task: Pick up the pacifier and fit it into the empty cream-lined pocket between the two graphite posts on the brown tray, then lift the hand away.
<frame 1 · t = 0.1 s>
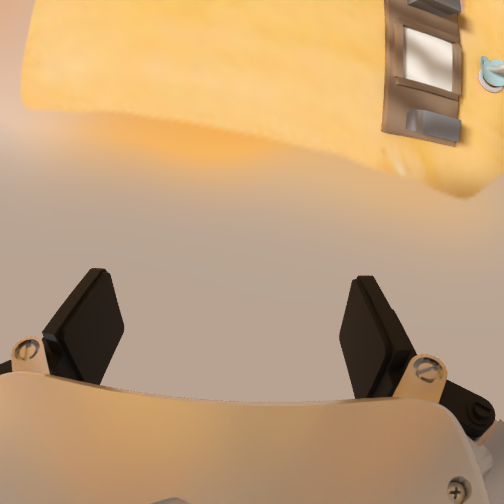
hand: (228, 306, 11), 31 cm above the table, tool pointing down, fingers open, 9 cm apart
brown tray: (422, 60, 31), on the table
pacifier: (488, 74, 30), on the table
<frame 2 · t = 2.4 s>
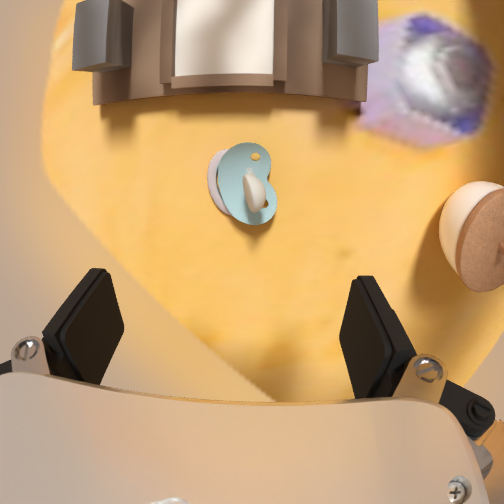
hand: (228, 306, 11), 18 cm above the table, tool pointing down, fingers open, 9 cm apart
lidded jar: (460, 213, 28), on the table
brown tray: (226, 30, 21), on the table
pacifier: (240, 179, 28), on the table
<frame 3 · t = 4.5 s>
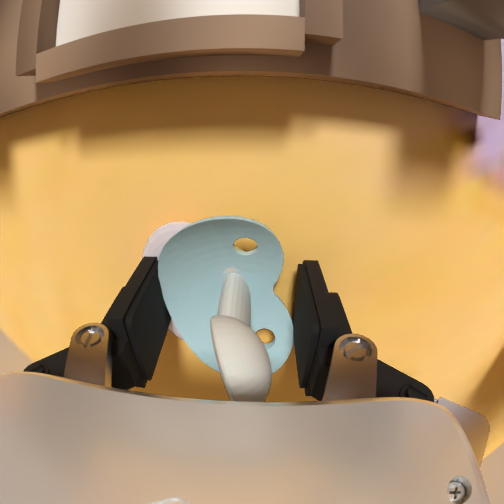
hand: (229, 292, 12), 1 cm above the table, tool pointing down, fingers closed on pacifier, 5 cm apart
pacifier: (215, 280, 13), on the table, touching gripper
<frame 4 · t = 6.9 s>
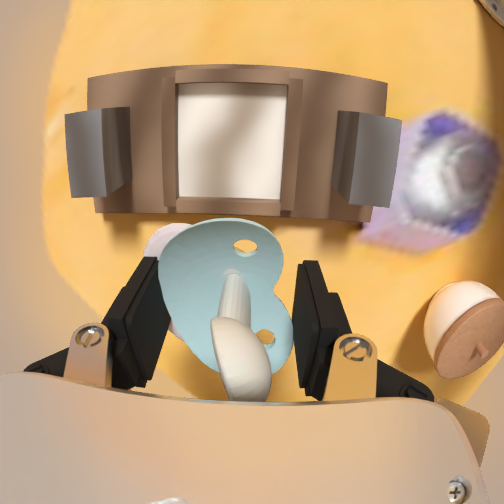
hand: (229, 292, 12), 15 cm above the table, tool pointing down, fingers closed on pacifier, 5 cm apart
lidded jar: (446, 302, 31), on the table
brown tray: (231, 138, 23), on the table
pacifier: (215, 281, 13), point 14 cm above the table, touching gripper
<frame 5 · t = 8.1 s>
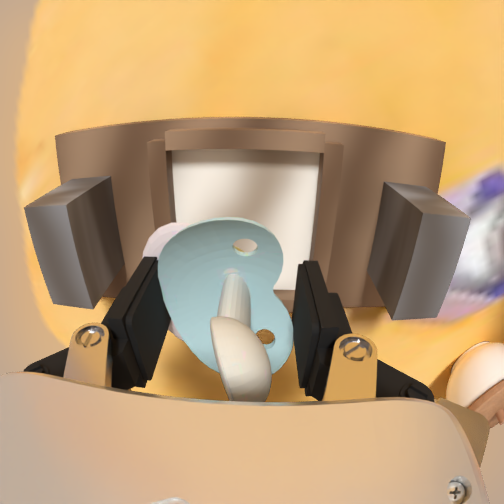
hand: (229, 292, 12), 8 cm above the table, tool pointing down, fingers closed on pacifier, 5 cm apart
lidded jar: (471, 359, 26), on the table
brown tray: (245, 213, 19), on the table
pacifier: (215, 281, 13), point 7 cm above the table, touching gripper
when the fingers open (4 cm above the table, at t = 9.2 s): pacifier drops 1 cm, resting on brown tray.
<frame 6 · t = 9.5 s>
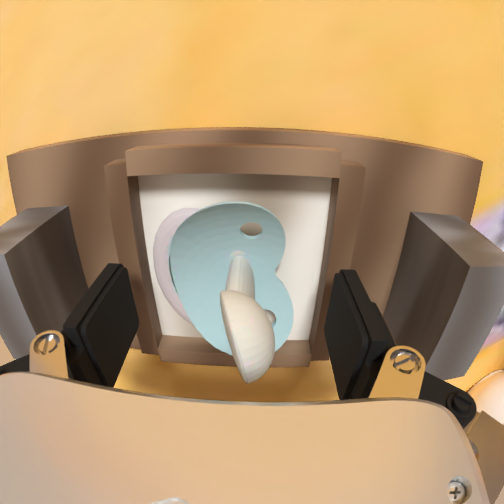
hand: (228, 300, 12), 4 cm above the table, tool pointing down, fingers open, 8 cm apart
lidded jar: (483, 387, 23), on the table
brown tray: (235, 250, 15), on the table
pacifier: (221, 264, 14), point 1 cm above the table, touching brown tray
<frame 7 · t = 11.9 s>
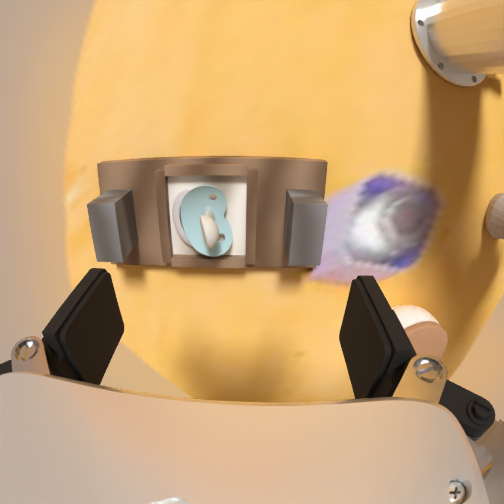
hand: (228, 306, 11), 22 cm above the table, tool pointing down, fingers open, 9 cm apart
lidded jar: (394, 321, 41), on the table
brown tray: (209, 210, 33), on the table
decorative mushroom: (495, 212, 33), on the table
pacifier: (201, 215, 31), point 1 cm above the table, touching brown tray
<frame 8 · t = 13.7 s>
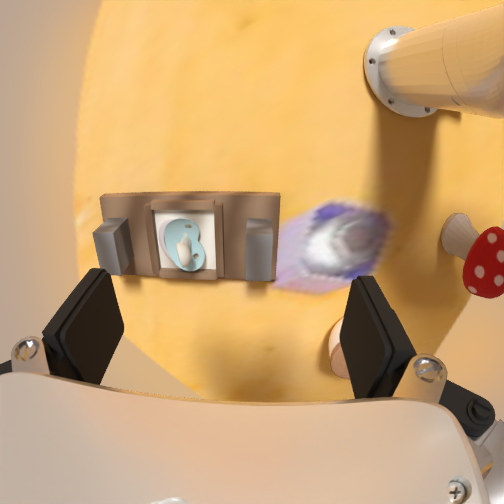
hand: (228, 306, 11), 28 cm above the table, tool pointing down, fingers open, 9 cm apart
lidded jar: (353, 324, 48), on the table
brown tray: (188, 233, 41), on the table
decorative mushroom: (452, 230, 40), on the table
pacifier: (181, 238, 40), point 1 cm above the table, touching brown tray
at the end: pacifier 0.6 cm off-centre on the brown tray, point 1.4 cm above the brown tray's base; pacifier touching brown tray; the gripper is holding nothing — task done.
